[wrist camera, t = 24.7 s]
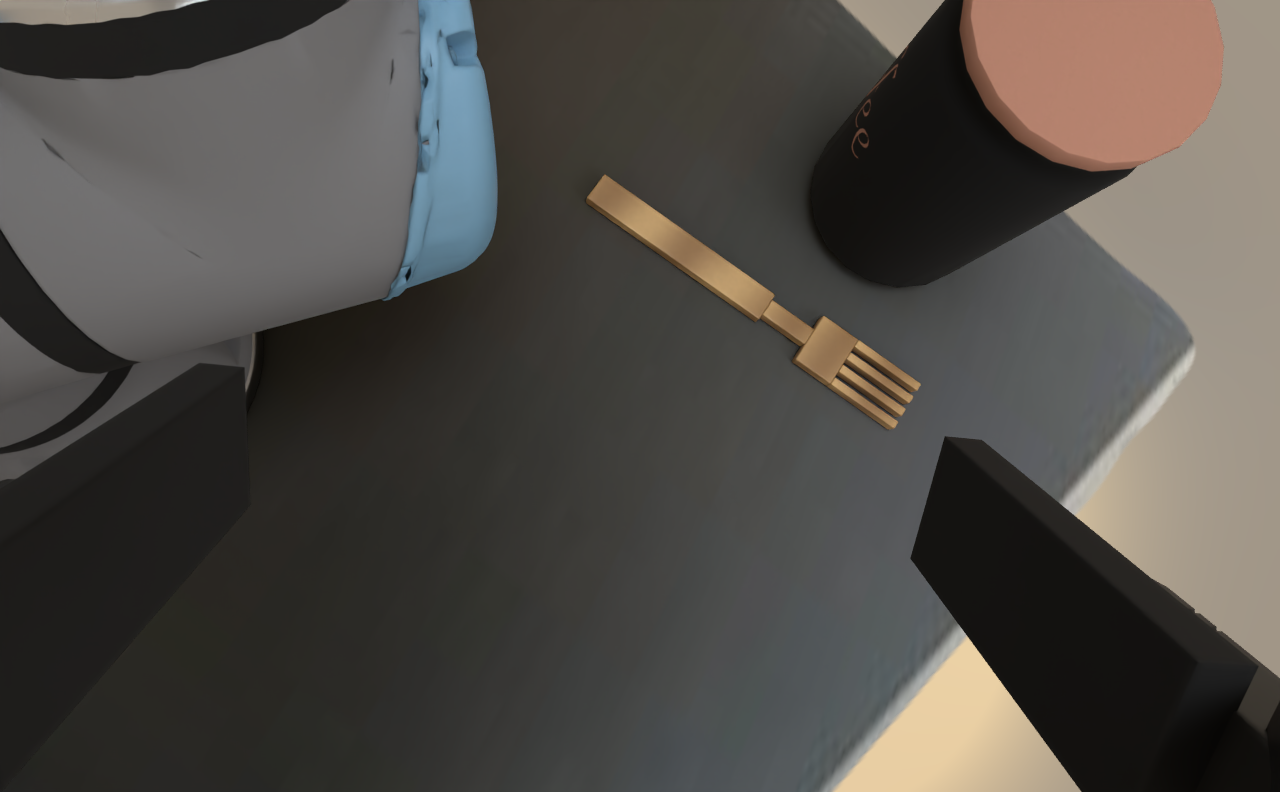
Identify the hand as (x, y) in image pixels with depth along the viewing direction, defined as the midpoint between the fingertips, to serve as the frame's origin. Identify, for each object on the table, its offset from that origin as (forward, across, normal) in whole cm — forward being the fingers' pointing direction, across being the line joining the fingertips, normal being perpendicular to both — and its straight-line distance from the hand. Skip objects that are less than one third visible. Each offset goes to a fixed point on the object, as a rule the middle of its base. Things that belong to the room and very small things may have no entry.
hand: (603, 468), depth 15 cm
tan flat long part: (+30, +10, -3) cm, 32 cm away
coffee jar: (+34, +18, +3) cm, 38 cm away
